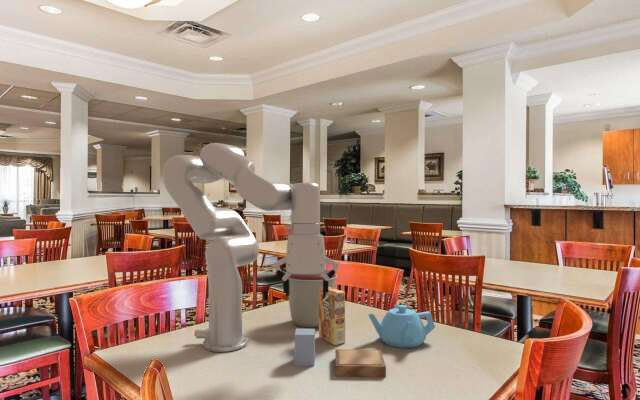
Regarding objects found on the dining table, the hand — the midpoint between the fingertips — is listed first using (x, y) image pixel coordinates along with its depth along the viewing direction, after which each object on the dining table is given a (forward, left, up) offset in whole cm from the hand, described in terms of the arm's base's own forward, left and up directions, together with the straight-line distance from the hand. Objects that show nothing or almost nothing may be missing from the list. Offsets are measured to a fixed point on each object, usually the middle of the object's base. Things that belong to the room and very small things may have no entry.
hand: (306, 295), depth 110 cm
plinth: (+14, -3, -18) cm, 22 cm away
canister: (0, +34, -18) cm, 38 cm away
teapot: (+28, +17, -18) cm, 37 cm away
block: (0, 0, -18) cm, 18 cm away
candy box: (+7, +17, -18) cm, 26 cm away
